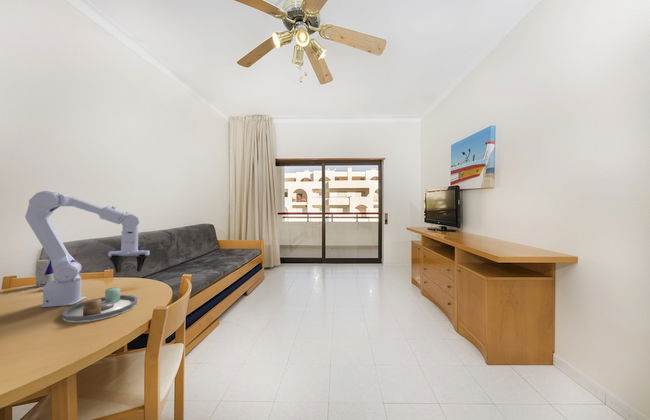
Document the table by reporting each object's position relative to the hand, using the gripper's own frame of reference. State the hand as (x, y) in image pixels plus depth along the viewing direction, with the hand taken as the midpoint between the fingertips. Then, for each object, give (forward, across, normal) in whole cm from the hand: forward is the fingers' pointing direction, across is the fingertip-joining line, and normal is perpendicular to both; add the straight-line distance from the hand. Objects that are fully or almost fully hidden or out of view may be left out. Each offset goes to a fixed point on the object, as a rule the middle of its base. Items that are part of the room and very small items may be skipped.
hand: (129, 271), depth 102 cm
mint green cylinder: (+9, 0, -12) cm, 15 cm away
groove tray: (+9, 0, -18) cm, 20 cm away
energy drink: (+10, -42, +20) cm, 47 cm away
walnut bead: (+9, 0, -24) cm, 26 cm away
